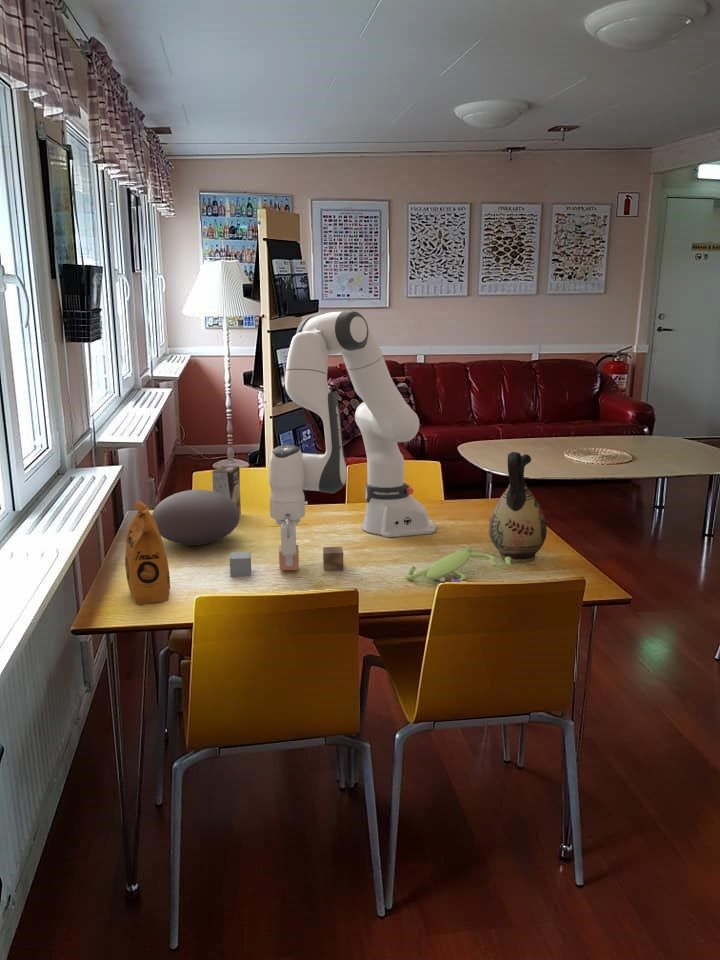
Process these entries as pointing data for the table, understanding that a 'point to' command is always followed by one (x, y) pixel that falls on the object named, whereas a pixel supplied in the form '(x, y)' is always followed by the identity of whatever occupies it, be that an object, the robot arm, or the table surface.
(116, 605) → the table surface
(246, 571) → the slate block
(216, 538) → the flattened ellipsoid
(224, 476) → the coffee box
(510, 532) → the ceramic jug
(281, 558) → the terracotta block
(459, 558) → the figurine
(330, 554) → the walnut block
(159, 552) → the coffee package
